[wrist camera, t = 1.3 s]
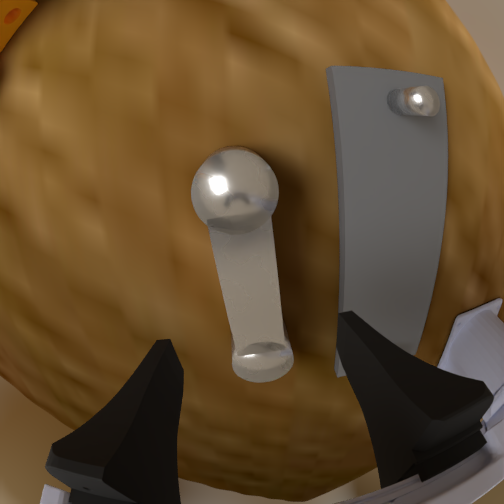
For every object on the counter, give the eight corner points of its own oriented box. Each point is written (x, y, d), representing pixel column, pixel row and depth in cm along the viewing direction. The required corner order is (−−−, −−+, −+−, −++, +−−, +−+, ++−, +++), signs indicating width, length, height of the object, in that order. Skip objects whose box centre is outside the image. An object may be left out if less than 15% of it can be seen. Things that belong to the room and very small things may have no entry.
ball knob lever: (287, 346, 21) (294, 377, 18) (236, 354, 21) (238, 385, 18) (264, 141, 15) (273, 144, 12) (193, 152, 15) (183, 159, 12)
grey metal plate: (410, 347, 23) (429, 376, 19) (334, 369, 23) (347, 403, 19) (433, 78, 13) (473, 76, 10) (325, 68, 13) (353, 54, 10)
